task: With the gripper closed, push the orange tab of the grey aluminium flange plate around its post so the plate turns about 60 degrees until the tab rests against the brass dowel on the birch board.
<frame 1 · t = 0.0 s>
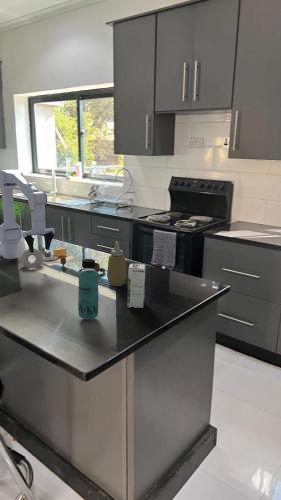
hand: (39, 250, 164), 10 cm above the countertop, tool pointing down, fingers open, 7 cm apart
donut: (32, 269, 171), on the countertop
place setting: (86, 273, 170), on the countertop
beverage bottle: (88, 320, 121), on the countertop
squeeze bottle: (116, 284, 154), on the countertop
board: (54, 261, 185), on the countertop
syrup box: (135, 305, 133), on the countertop
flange: (52, 253, 185), point 4 cm above the countertop, hinge at 0.0°
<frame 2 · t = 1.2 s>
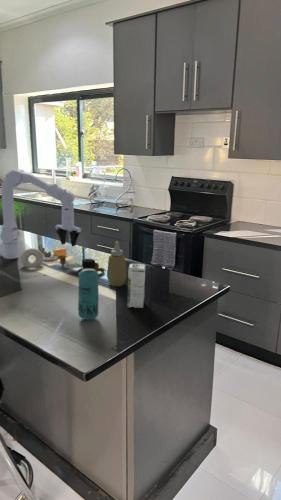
hand: (68, 244, 183), 8 cm above the countertop, tool pointing down, fingers open, 6 cm apart
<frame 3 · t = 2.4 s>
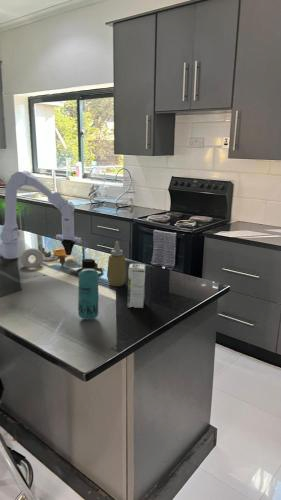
hand: (68, 254, 184), 3 cm above the countertop, tool pointing down, fingers closed
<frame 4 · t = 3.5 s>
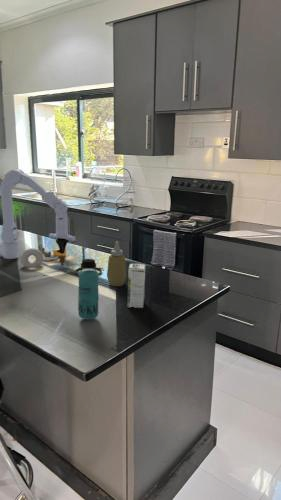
hand: (62, 253, 186), 3 cm above the countertop, tool pointing down, fingers closed, pressing on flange
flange: (52, 253, 185), point 4 cm above the countertop, hinge at 2.2°, touching gripper
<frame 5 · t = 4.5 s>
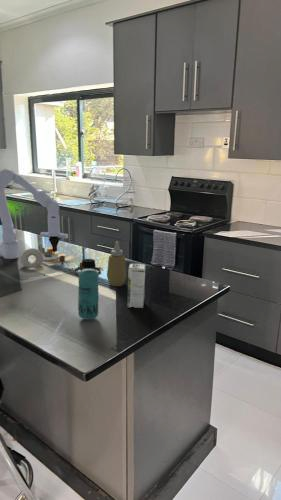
hand: (54, 251, 189), 4 cm above the countertop, tool pointing down, fingers closed, pressing on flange
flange: (48, 253, 185), point 4 cm above the countertop, hinge at 44.8°, touching gripper
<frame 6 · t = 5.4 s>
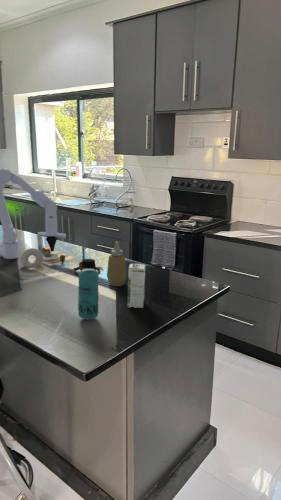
hand: (52, 251, 190), 3 cm above the countertop, tool pointing down, fingers closed
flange: (47, 253, 185), point 4 cm above the countertop, hinge at 60.0°, touching board, gripper
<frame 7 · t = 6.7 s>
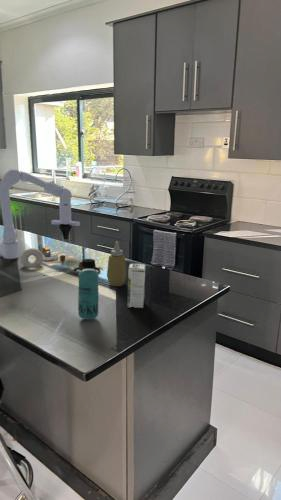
hand: (65, 239, 191), 9 cm above the countertop, tool pointing down, fingers closed
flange: (47, 253, 185), point 4 cm above the countertop, hinge at 60.0°, touching board
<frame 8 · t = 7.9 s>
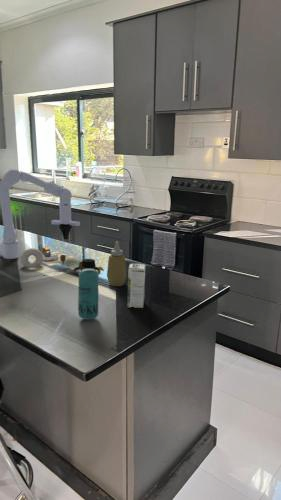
hand: (65, 239, 191), 9 cm above the countertop, tool pointing down, fingers closed
at the end: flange at +60° (first picture: +0°) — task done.
